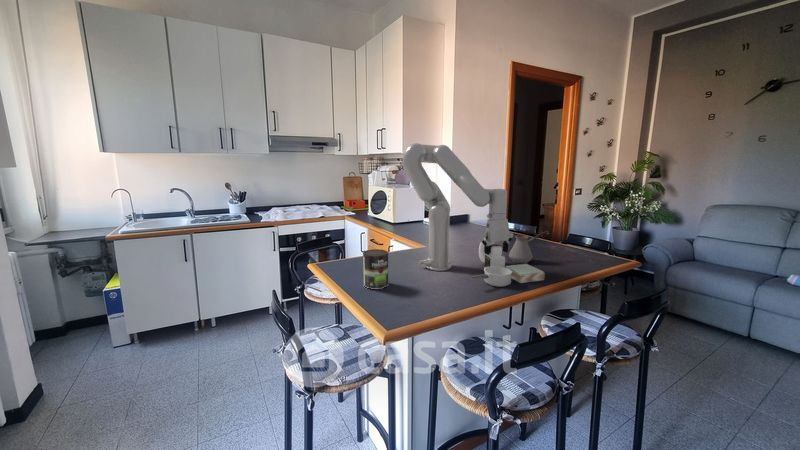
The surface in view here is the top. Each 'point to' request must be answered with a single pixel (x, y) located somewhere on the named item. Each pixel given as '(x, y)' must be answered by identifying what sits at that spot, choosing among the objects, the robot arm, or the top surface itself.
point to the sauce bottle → (481, 251)
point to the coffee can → (375, 268)
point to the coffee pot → (522, 249)
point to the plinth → (526, 273)
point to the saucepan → (496, 276)
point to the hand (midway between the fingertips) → (496, 252)
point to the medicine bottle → (495, 256)
